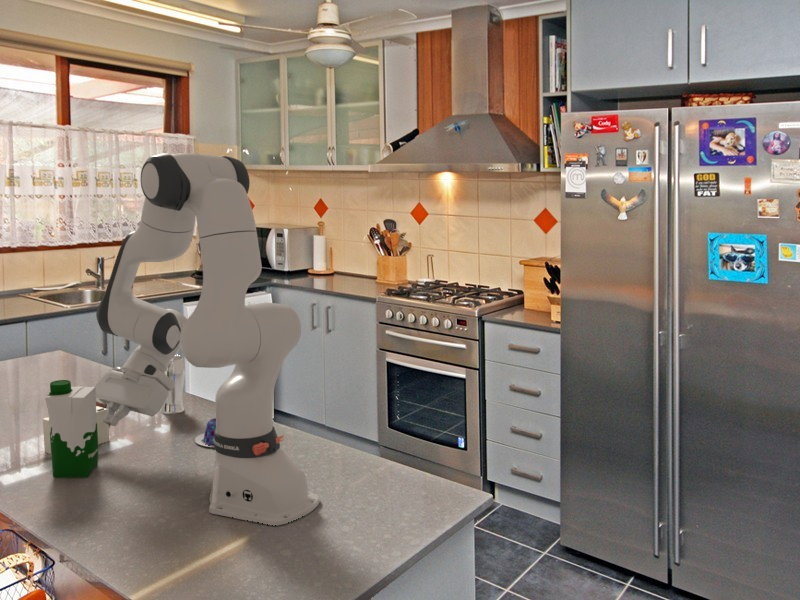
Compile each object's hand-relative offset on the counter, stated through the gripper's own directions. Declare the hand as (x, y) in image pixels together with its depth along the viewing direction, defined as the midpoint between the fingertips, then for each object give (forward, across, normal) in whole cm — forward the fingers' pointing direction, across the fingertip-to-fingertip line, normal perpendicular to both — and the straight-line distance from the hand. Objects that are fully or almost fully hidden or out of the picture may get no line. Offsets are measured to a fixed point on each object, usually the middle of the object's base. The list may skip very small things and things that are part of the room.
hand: (108, 423), depth 167 cm
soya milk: (+12, 0, 0) cm, 12 cm away
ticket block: (+5, -13, +7) cm, 16 cm away
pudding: (-10, +11, +23) cm, 27 cm away
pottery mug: (-4, -26, +17) cm, 31 cm away
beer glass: (-17, -16, +29) cm, 37 cm away
